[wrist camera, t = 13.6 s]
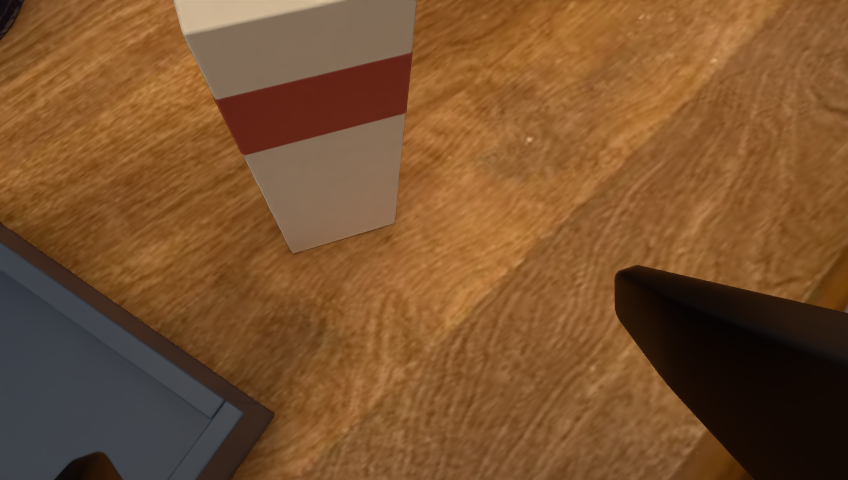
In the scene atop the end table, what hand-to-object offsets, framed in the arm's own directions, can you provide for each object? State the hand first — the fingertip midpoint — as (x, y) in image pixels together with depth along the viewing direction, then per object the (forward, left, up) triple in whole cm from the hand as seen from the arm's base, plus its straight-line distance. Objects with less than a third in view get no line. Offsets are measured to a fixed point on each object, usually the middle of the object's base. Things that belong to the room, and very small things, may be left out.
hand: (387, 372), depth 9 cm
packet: (+6, -6, -10) cm, 13 cm away
